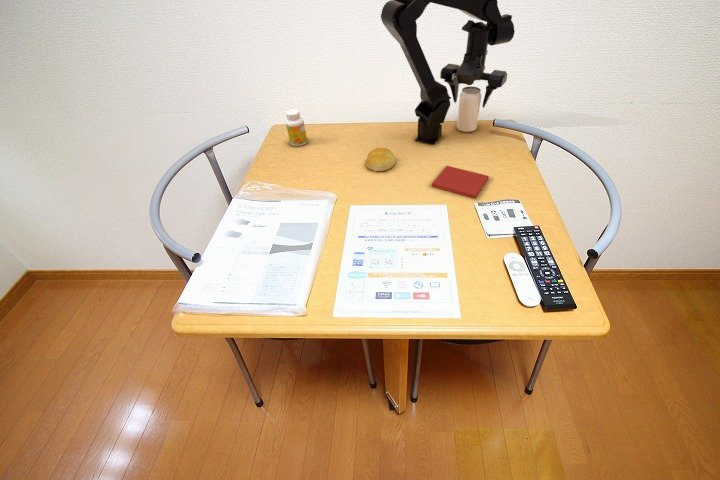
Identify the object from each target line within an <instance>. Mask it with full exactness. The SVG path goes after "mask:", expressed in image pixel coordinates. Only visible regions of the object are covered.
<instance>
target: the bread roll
mask: <svg viewBox="0 0 720 480" xmlns="http://www.w3.org/2000/svg"><path fill="white" fill-rule="evenodd" d="M395 163H396V156H395V153H394V152H393V151H392V150H390V149H388V148H387V147H383V146H382V147H376V148H374V149H371V151H369V152H368V154H367V157H366V159H365V160H364V165H365V167H366V168H368V169H369V170H371V171H375V172H384V171H387V170H389V169H391V168H393V167H394V166H395Z"/></svg>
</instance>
